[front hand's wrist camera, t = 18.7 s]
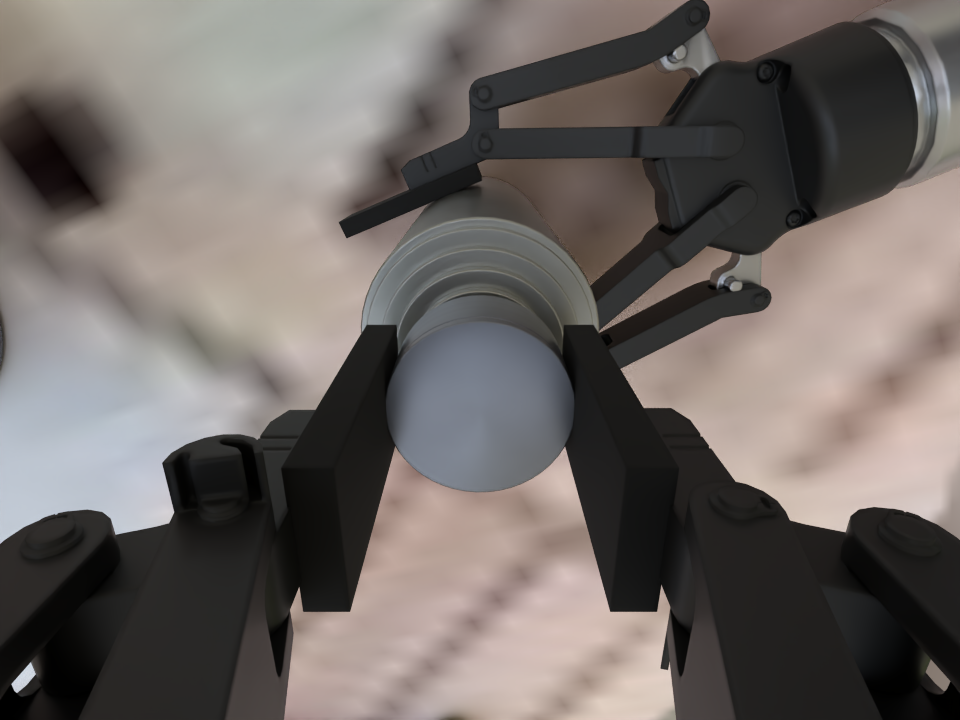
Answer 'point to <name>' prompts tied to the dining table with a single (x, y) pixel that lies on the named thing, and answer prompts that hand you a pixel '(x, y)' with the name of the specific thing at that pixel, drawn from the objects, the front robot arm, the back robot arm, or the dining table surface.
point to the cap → (480, 395)
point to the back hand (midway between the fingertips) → (387, 302)
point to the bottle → (480, 263)
